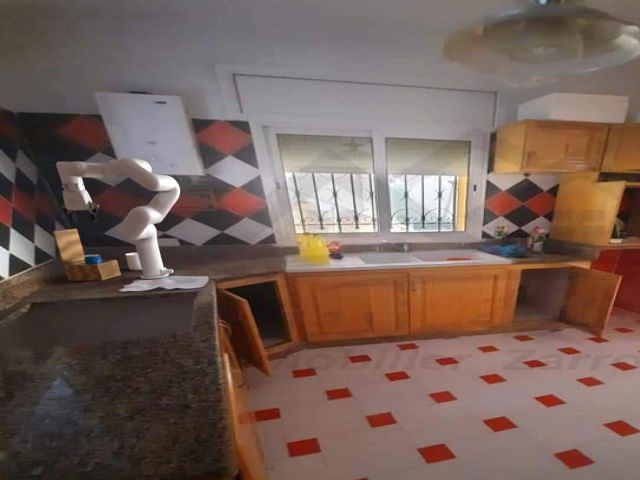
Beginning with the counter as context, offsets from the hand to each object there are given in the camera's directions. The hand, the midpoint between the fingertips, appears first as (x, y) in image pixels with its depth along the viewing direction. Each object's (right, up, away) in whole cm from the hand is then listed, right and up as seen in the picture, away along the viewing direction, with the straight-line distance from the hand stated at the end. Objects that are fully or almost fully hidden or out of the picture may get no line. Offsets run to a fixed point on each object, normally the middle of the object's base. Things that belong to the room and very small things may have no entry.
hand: (85, 221), depth 168 cm
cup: (+1, -23, +32) cm, 39 cm away
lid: (-12, -13, +4) cm, 18 cm away
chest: (-5, -30, +10) cm, 32 cm away
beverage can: (-3, -29, +10) cm, 31 cm away
